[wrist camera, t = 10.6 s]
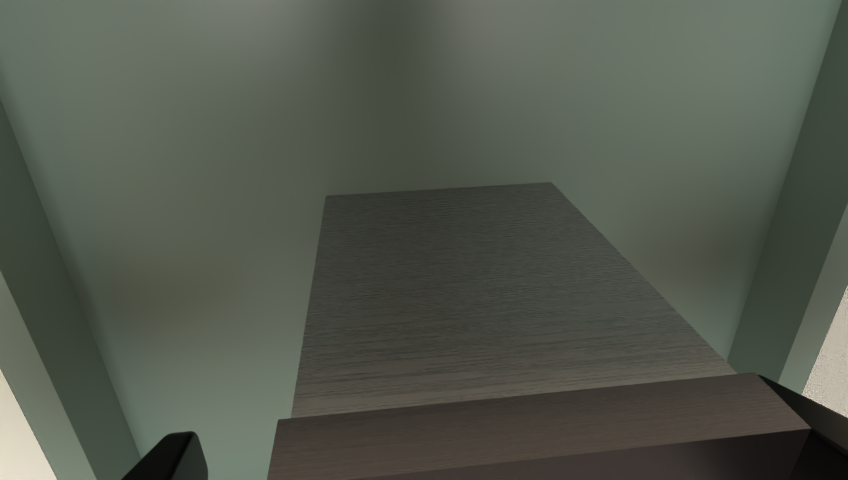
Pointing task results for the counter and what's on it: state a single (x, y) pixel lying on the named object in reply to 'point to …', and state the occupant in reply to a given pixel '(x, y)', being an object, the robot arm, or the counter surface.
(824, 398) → the counter surface
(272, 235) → the tray
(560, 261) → the capped grey block
